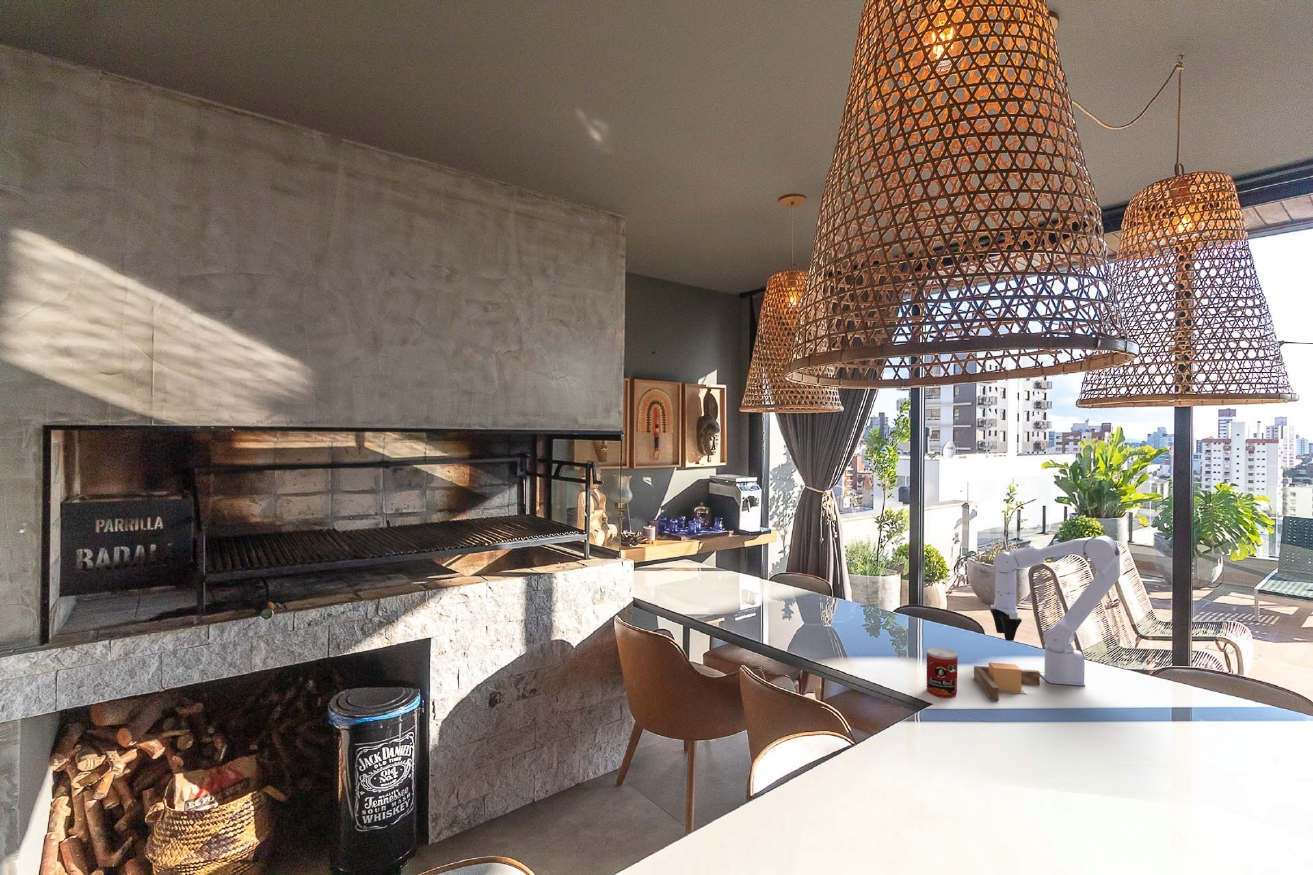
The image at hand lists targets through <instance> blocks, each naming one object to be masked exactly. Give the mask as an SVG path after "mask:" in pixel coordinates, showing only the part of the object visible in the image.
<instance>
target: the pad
mask: <svg viewBox="0 0 1313 875" xmlns="http://www.w3.org/2000/svg"><path fill="white" fill-rule="evenodd" d="M999 693H1005V694H1006V693H1009V694H1019V695H1026V694H1027V693H1026V692H1025V691H1024V690H1023V689H1022V688H1021V692H1019V691H1005V690H999Z"/></svg>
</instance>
